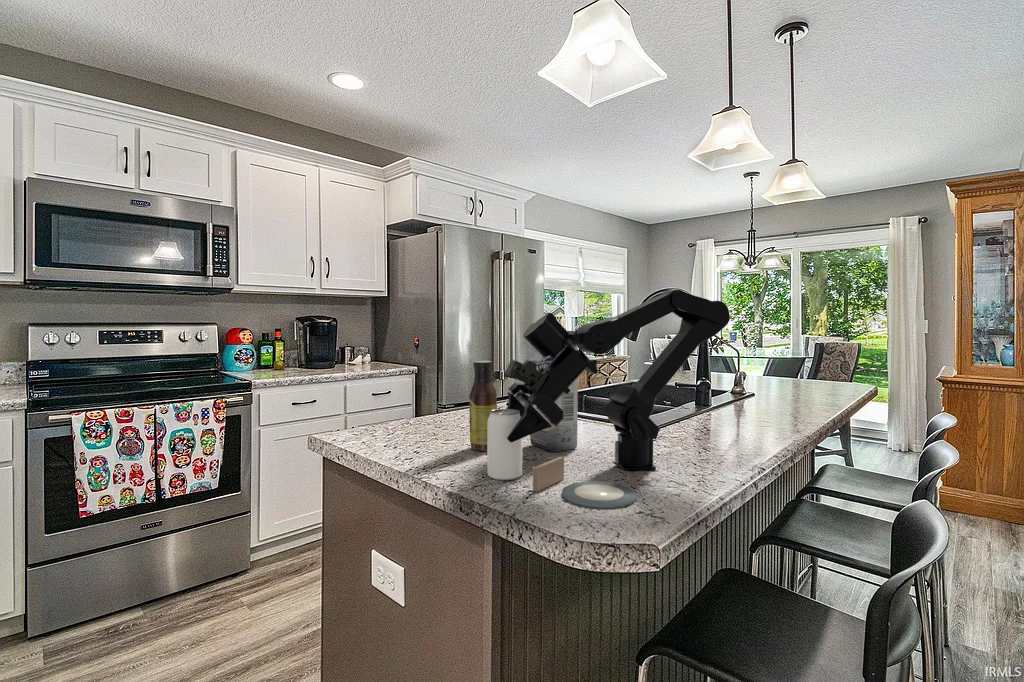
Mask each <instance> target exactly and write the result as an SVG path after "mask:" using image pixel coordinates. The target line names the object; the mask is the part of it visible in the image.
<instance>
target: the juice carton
mask: <svg viewBox="0 0 1024 682" xmlns="http://www.w3.org/2000/svg"><path fill="white" fill-rule="evenodd" d="M570 345H571V346H572V347H573V348H574V349H575V350H579V348H578V346H577V345H574V344H570ZM563 349H564V348H563ZM557 355H558V354H557ZM557 355H556V356H555V357H553V358H551V357H550V356H547V357H542V355H541V354H540V353H539V352H538V351H537V350H536V349H535V348H534V347H533V346H532V345H531V344H530V343H529V361H531V362H533V363H535V364H536V370H538V369H539V368H540V367H544V368H546V367H547V366H548V365H549V364H550V363H551V362H552V361H553V360H554V359H555V358H556V357H557ZM578 378H579V377H578ZM578 378H577V379H576V380H575V381H574V382H573V383H572V385H571V386H570V387H569V389H570V390H571V391H570V392H569V393H568V394H565V393H563V394H562V395H561V396H560V397H559V398H558V400H557V401H556V402H555V403H556V404H557V405H558V406H559V407H560V408H561V409H562V410H563V411H564V415H563V420H562V421H561V422H560V423H559V424H558V425H557V426H555V425H553V424H551V423H550V424H551V426H552V427H551V428H546V429H543V430H541V431H538V432H536V433H533V434H531V435H529V436H530V438H529V439H530V444H531V445H532V446H535V447H537V448H540V449H543V450H546V451H548V452H550V453H554V452H559V451H567V450H573V449H574V450H575V449H576V448H577V447H578V392H579V391H578V390H579V389H578V385H579V383H578V382H579V381H578V380H579V379H578Z"/></svg>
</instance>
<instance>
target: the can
mask: <svg viewBox="0 0 1024 682" xmlns="http://www.w3.org/2000/svg"><path fill="white" fill-rule="evenodd" d="M520 419H521V416H520V411H518V410H513V409H506V408H500V409H498V408H497V410H492V411H490V416H489V418H488V422H487V451H486V452H487V459H486V460H487V465H486V466H487V476H489V478H490V479H491V480H492V479H493V480H496V481H512V480H513V481H514V480H517V479H519V478H521V476H522V475H523V438H521V439H519V440H516V441H514V442H510V441H509V440H508V439H507V437H508V436H509V434H510V433H511V431H512V430H513V428H514V427H515V425H516V424H517V423H518V421H519V420H520Z"/></svg>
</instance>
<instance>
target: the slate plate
mask: <svg viewBox="0 0 1024 682" xmlns="http://www.w3.org/2000/svg"><path fill="white" fill-rule="evenodd" d="M561 491H562V492H561V495H562V498H563V499H564V500H566V501H567V502H569V503H571V504H573V505H577V506H580V507H583V508H584V507H586V508H590V509H591V508H592V509H618V508H625V507H627V506H631V505H633V504H634V503H635V502H636V501H637V493H636V491H635V490H634V489H632V488H631V487H628V486H625V485H622V484H619V483H613V482H608V481H592V480H591V481H580V482H575V483H571V484H568V485H566V486H564V487H563V489H562V490H561Z"/></svg>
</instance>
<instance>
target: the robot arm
mask: <svg viewBox="0 0 1024 682" xmlns="http://www.w3.org/2000/svg"><path fill="white" fill-rule="evenodd" d="M671 313H672V314H674V315H675V316H677V317H679V319H681V322H680V325H679V330H678V332H677V333H676V335H675V336H674V337H673V338H672V339H671V341H670V342H669V343H668V344H667V345H666V347H665V348H663V350H662V351H661V353H660V354H659V355H658V356H657V357H656V358H655V360H654V361H653V362H652V363H651V364H650V366H648V368H647V369H646V370H645V371H644V373H643V374H642V375H641V376H640V378H639V379H638V380H637V381H636V382H635V383H633V384H632V385H626V384H623V383H621V384H620V385H619V386H618V388H617V389H616V391H615V392H614V393H613V395H611V396H609V397H608V400H609V402H608V404H607V405H606V409H605V410H606V417H607V419H608V420H609V422H610V423H611V424H612V425H613V428H614V430H615V432H618V433H617V440H616V441H615V443H614V462H615V464H617V465H618V466H619V468H620V469H621V470H623V471H640V470H641V471H643V470H644V471H646V470H647V471H648V470H651V471H653V470H655V471H656V469H657V466H656V465H655V464H654V440H657V438H658V435H659V432H660V427H659V426H658V425H657V424H656V423H655V422H654V421H653V420H652V419H651V418H650V417H651V415H652V414H653V411H654V407H655V403H656V398H657V397H658V395H659V394H661V392H662V390H663V389H664V388H665V387H666V385H667V384H669V382H670V381H671V380H672V379H673V377H674V376H675V375H676V373H678V371H679V370H680V369H681V368H682V366H683V365H684V364H685V363H686V361H687V360H688V359H689V358H690V357H691V355H692V354H693V353H694V352H695V351H696V350H697V348H698V347H699V346H700V345H701V344H702V343H704V342H706V341H707V340H709V339H711V338H713V337H715V336H716V335H717V334H719V333H720V332H721V331H722V330H723V329H725V327H727V325H728V324H729V322H730V320H731V316H730V310H729V308H728V305H727V304H726V303H724V302H723V301H721V300H710V299H707V298H703V297H701V296H697V295H693V294H690V293H688V292H686V291H683V290H682V289H676V288H675V289H669V290H665V291H663V292H662V293H661V294H659V295H657V296H655V297H653V298H651V299H648V300H647V301H645V302H642V303H640V304H638V305H635V306H634V307H632V308H630V309H628V310H626V311H624V312H622V313H620V314H618V315H616V316H613V317H609V318H603V319H600V320H596V321H593V322H589V323H585V324H582V325H581V326H580V327H578V329H577V330H567V329H566V328H565V327H564V326H563V325H562V324H561V323H560V321H558V319H557V317H556V316H555V315H554V314H553V313H552V312H546V314H544V315H543V316H542V317H540V318H539V319H538V320H536V321H535V322H532V323H531V324H530V325H529V326H528V328H527V329H526V330H525V331H524V333H523V334H522V337H523V338H524V339H525V340H526V341H527V342H528V343H529V345H530V344H531V345H532V346H533V347H534V348H535V349H536V350H537V351H538V352H539V353H540V354H541V355H542V357H547V356H550V357H551V358H553V357H555V356H556V355H557V354H558V355H557V357H556V358H555V359H554V360H553V361H552V362H551V363H550V364H549V365H548V366H547V367H546V368H544V367H540V368H539V369H538V370H536V364H535V363H533V362H531V361H530V360H529V359H528V360H527V359H526V360H525V361H524V362H520V361H517V360H515V359H510V361H509V363H508V365H507V367H506V370H505V371H504V376H507V377H509V378H512V379H514V380H518V381H520V382H513V384H511V385H510V386H509V388H508V389H507V390H508V392H507V396H508V397H507V398H508V404H507V407H506V408H505V409H513V410H518V411H520V416H521V419H520V420H519V421H518V423H517V424H516V425H515V427H514V428H513V430H512V431H511V433H510V434H509V436H508V437H507V439H508V440H509V441H510V442H514V441H516V440H519V439H521V438H522V439H523V438H526V437H528V436H530V435H531V434H533V433H536V432H538V431H541V430H543V429H546V428H551V427H552V426H551V424H553V425H555V426H557V425H558V424H559V423H560V422H561V421H562V420H563V415H564V411H563V410H562V409H561V408H560V407H559V406H558V405H557V404H556V403H555V402H556V401H557V400H558V398H559V397H560V396H561V395H562V394H563V393H565V394H568V393H569V392H570V391H571V390H570V389H569V387H570V386H571V385H572V383H573V382H574V381H575V380H576V379H577V378H579V377H581V375H582V374H583V373H584V372H585V371H586V372H587V373H589V374H591V375H597V374H598V366H597V363H598V360H597V359H593V358H592V359H590V358H589V357H588V356H587V355H586V353H589V354H593V355H594V354H595V355H602V354H606V353H609V351H611V350H612V349H614V348H615V347H617V346H618V345H619V344H620V343H621V342H622V341H623V340H624V338H625V337H626V336H628V335H629V334H631V333H634V332H635V331H637V330H638V329H641V328H643V327H645V326H647V325H649V324H651V323H653V322H655V321H657V320H659V319H662V318H664V317H665V316H667V315H670V314H671ZM570 344H574V345H577V346H578V350H575V349H574V348H573V347H572V346H571V345H570ZM563 348H564V349H563ZM550 423H551V424H550Z"/></svg>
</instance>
